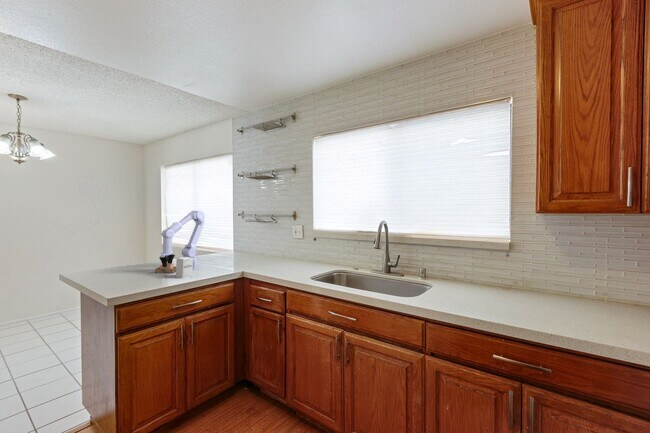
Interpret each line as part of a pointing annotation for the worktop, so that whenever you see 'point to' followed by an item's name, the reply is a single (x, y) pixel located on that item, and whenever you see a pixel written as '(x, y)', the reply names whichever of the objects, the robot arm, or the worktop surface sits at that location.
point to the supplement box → (184, 267)
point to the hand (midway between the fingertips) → (167, 266)
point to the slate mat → (156, 274)
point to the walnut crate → (165, 270)
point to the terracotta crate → (167, 266)
